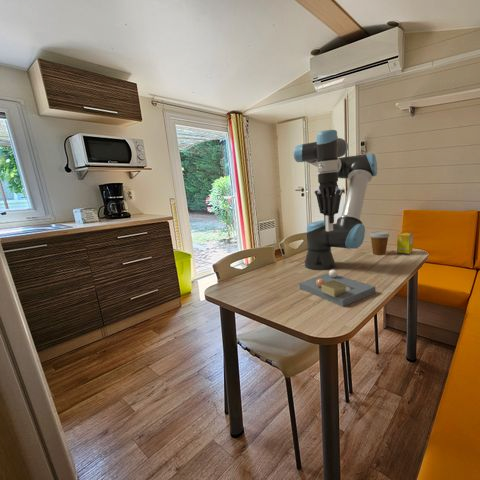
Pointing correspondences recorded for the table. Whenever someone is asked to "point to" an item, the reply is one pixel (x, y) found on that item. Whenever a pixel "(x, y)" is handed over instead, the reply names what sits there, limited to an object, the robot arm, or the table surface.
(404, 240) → the supplement box
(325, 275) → the slate plate
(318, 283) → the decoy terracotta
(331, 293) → the brass cover
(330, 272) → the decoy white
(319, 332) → the table surface
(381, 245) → the disposable coffee cup
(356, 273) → the table surface
